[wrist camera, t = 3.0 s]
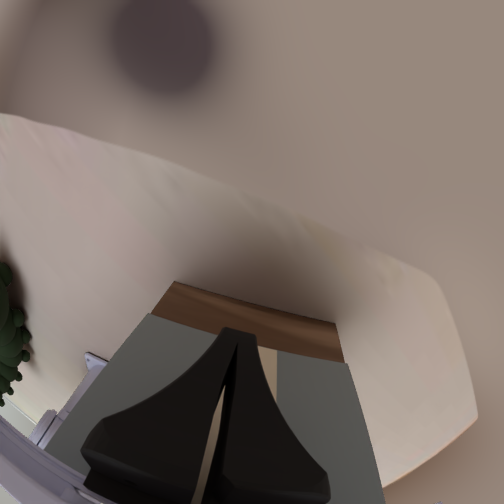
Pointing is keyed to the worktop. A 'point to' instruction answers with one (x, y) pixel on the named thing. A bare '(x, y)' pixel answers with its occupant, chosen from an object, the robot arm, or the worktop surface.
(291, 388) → the lid
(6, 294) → the toy figurine
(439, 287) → the worktop surface
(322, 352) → the box
